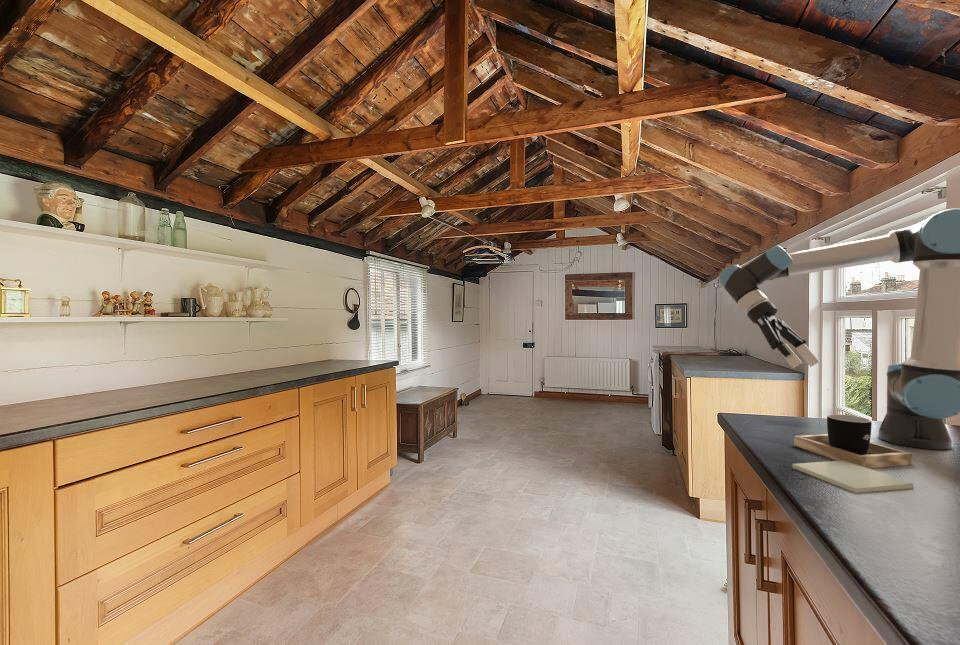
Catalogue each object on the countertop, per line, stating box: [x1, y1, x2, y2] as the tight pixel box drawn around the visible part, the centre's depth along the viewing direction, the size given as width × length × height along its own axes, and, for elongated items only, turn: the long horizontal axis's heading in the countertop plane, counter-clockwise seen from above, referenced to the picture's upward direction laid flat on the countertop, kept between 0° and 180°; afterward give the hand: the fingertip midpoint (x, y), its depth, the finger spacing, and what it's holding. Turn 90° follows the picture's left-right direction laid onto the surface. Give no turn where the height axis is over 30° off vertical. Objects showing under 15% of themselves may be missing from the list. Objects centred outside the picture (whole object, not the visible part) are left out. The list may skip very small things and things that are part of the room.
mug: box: [826, 413, 873, 455], centre depth 115 cm, size 12×9×10 cm
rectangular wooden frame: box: [793, 433, 913, 469], centre depth 115 cm, size 15×18×3 cm
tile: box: [791, 460, 915, 494], centre depth 99 cm, size 15×15×1 cm
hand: (806, 364), depth 123 cm, fingers open, 13 cm apart
